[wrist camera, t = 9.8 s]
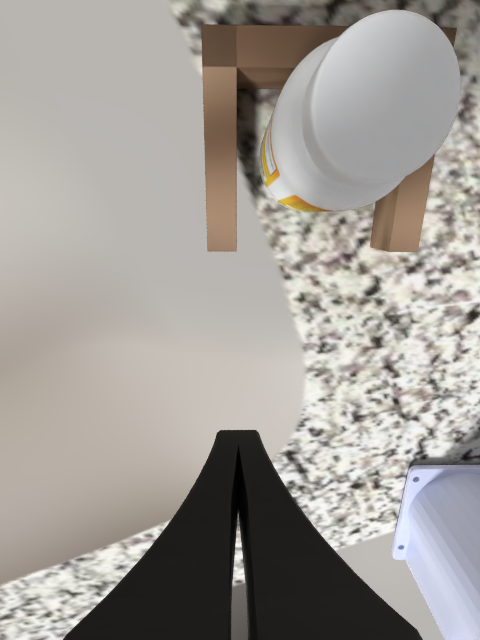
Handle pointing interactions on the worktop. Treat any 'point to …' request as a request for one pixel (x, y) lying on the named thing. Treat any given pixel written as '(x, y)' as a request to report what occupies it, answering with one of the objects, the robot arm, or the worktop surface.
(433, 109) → the supplement bottle
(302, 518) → the robot arm
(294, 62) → the wooden u-shaped bracket
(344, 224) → the worktop surface
